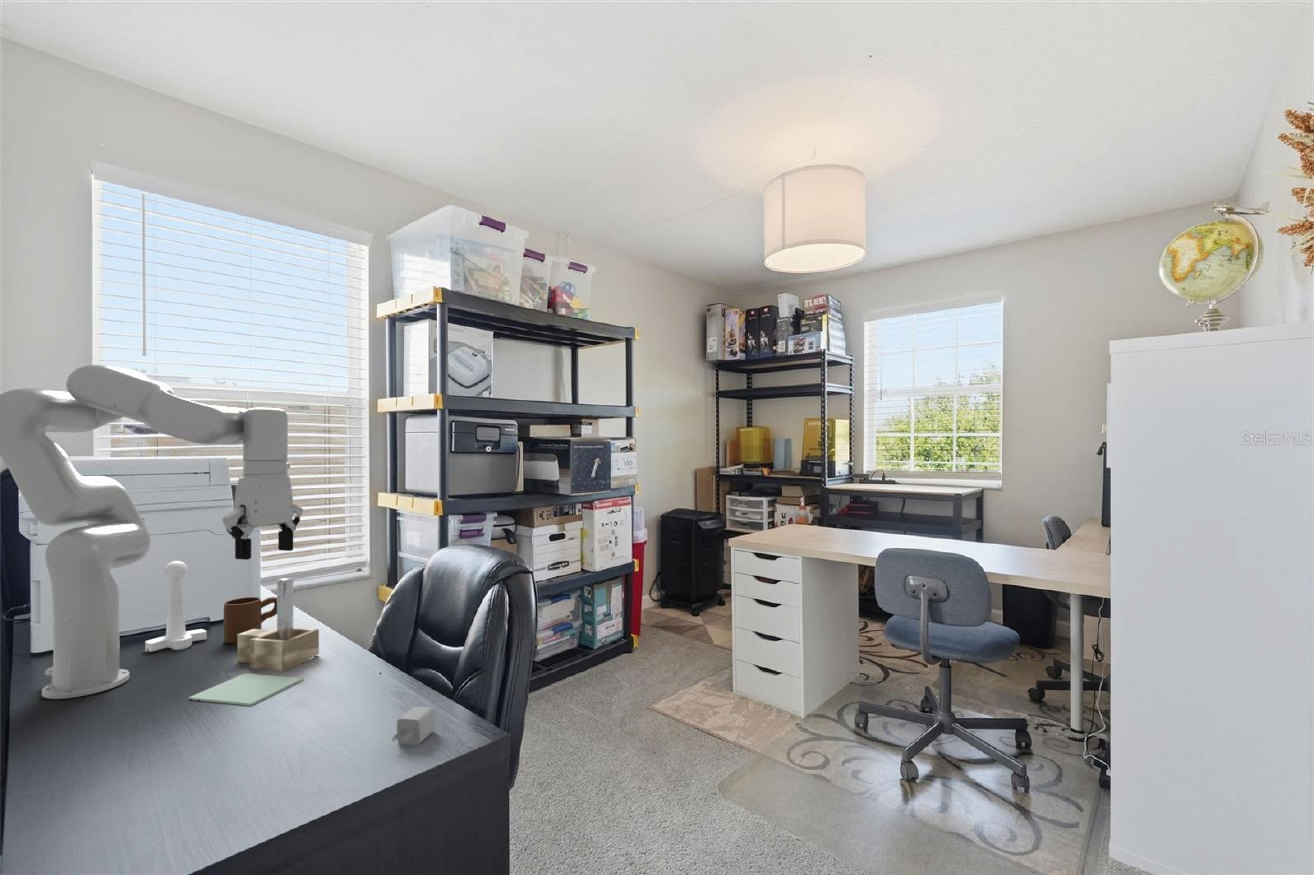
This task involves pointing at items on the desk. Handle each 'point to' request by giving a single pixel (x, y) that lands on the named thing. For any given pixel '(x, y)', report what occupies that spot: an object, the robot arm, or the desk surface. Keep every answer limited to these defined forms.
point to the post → (284, 608)
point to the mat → (246, 689)
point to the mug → (245, 616)
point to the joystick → (175, 614)
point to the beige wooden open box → (277, 648)
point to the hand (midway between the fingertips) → (265, 554)
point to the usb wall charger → (415, 725)
